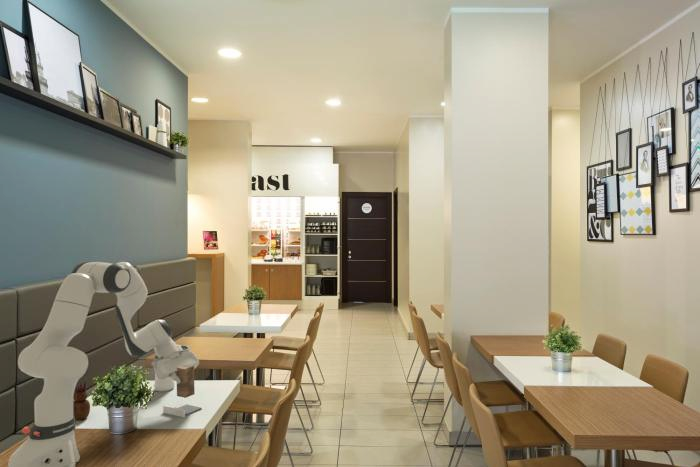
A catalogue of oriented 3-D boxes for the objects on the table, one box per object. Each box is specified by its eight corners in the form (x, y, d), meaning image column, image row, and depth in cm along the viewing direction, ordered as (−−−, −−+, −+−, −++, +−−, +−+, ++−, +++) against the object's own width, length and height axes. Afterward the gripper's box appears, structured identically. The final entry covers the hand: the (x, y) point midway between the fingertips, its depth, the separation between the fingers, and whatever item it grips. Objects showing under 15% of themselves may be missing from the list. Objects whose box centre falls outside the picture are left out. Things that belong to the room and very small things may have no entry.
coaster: (185, 416, 207) (185, 414, 207) (170, 412, 212) (170, 411, 212) (201, 409, 215) (201, 407, 215) (186, 405, 219) (186, 404, 219)
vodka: (172, 391, 239) (171, 328, 239) (151, 392, 238) (150, 329, 237) (176, 385, 248) (175, 324, 248) (156, 386, 247) (155, 325, 247)
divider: (183, 417, 206) (183, 410, 206) (163, 412, 212) (163, 405, 212) (185, 416, 206) (184, 409, 206) (164, 412, 212) (164, 404, 212)
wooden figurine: (93, 416, 209) (92, 380, 209) (84, 421, 203) (83, 384, 203) (77, 415, 210) (76, 379, 209) (68, 421, 204) (67, 384, 204)
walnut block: (185, 397, 210) (184, 369, 210) (176, 396, 212) (176, 367, 212) (194, 394, 214) (193, 366, 214) (186, 392, 217) (185, 364, 216)
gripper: (153, 355, 207) (170, 382, 203) (191, 344, 225) (207, 369, 221) (146, 365, 210) (162, 392, 205) (184, 353, 227) (200, 378, 223)
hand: (186, 380), depth 213 cm, fingers closed on walnut block, 5 cm apart
